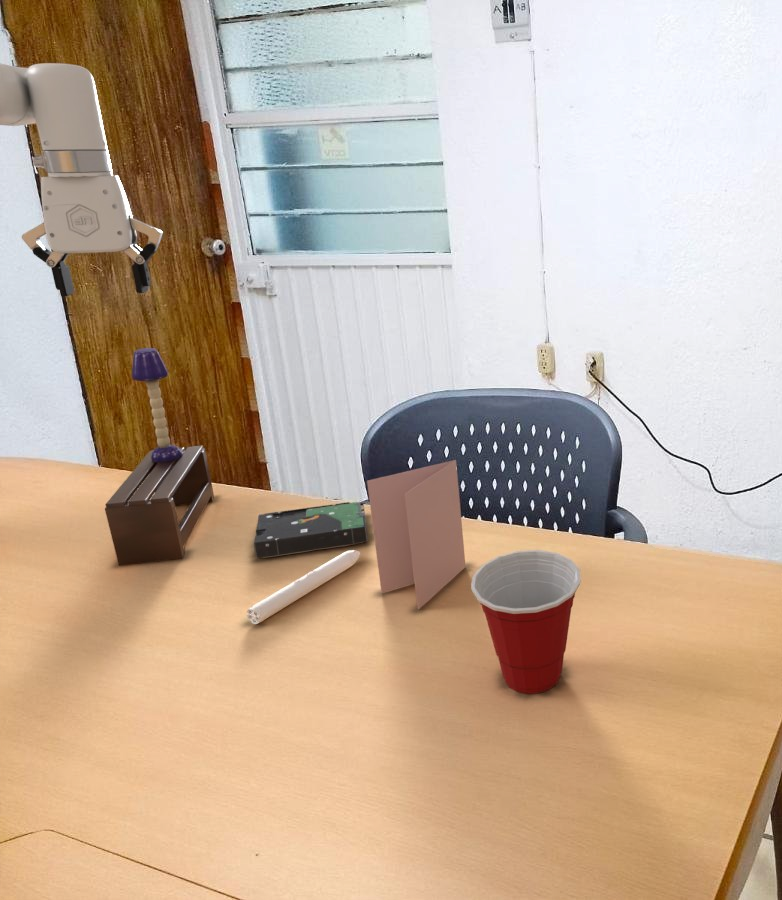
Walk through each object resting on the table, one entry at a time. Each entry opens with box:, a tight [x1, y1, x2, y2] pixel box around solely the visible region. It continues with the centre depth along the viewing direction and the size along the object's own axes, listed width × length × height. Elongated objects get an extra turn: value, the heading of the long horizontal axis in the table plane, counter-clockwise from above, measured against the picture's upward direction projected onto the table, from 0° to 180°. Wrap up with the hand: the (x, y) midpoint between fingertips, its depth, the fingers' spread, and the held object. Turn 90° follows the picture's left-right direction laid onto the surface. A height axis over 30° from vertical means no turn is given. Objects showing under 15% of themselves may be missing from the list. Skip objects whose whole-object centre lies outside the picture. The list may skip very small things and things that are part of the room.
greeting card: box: [366, 459, 467, 611], centre depth 101 cm, size 11×7×15 cm, turn 124°
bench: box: [104, 445, 215, 566], centre depth 121 cm, size 8×22×9 cm, turn 13°
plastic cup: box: [470, 549, 582, 695], centre depth 83 cm, size 11×11×12 cm
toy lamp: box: [131, 347, 183, 462], centre depth 122 cm, size 5×5×17 cm
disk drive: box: [253, 501, 369, 559], centre depth 118 cm, size 10×3×15 cm
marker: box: [246, 549, 361, 625], centre depth 103 cm, size 18×2×2 cm, turn 154°
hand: (105, 293), depth 117 cm, fingers open, 9 cm apart
